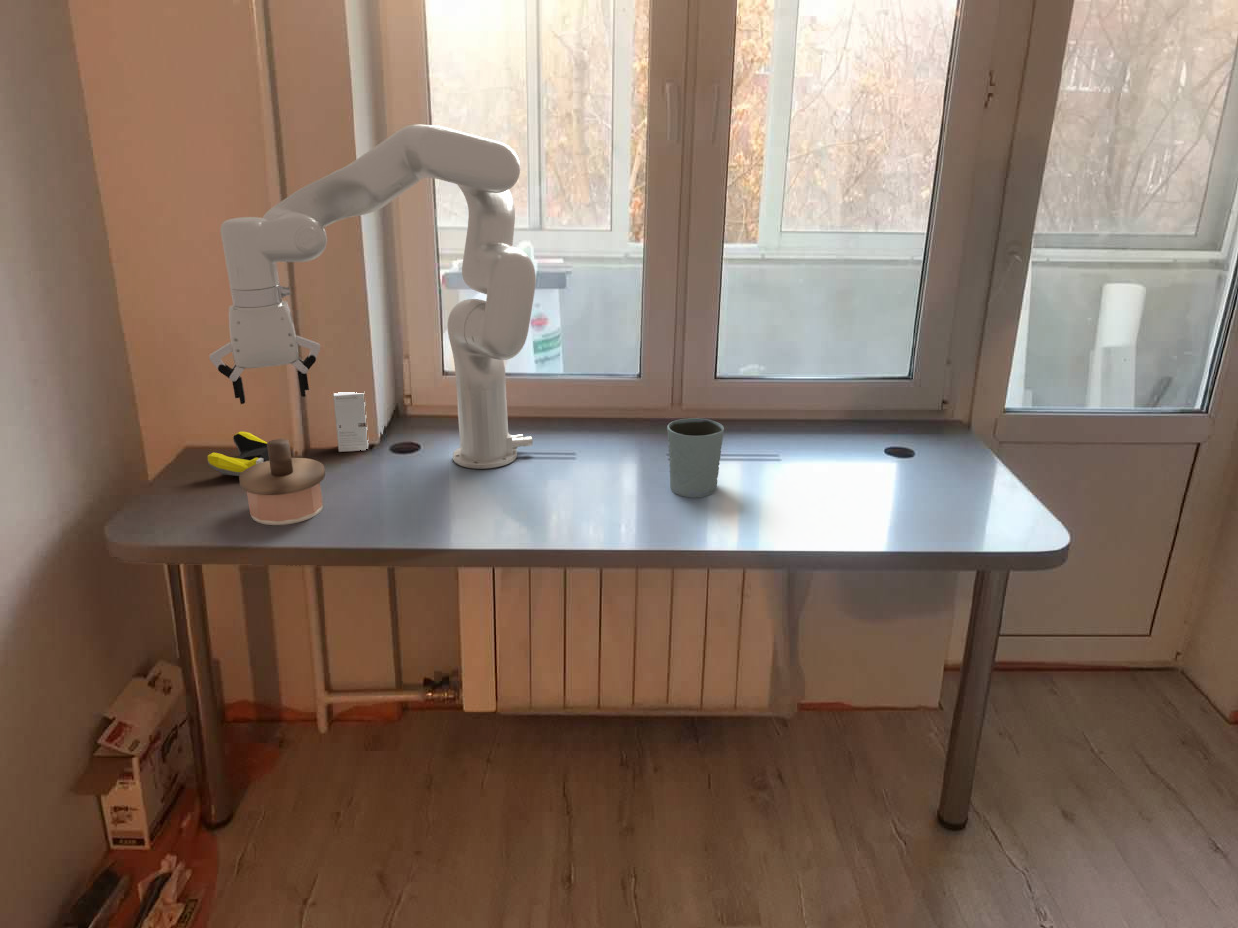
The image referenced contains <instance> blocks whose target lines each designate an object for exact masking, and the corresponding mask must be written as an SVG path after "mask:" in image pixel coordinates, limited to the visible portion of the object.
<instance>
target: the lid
mask: <svg viewBox="0 0 1238 928" xmlns="http://www.w3.org/2000/svg"><path fill="white" fill-rule="evenodd" d="M267 448H268V455H269V461H266V462H262V463H259V464H256V465H253V466H251V467H249V468H247V469H246V470H244V471H243V472H242V473H241V474H240V476H238V479H239V486H240V488H241V489H242V490H243V491H244V492H246V493H247V492H249V493H253V494H259V495H281V494H288V493H294V492H298V491H302V490H305V489H308V488H310V487H313V486H315V485H317V484H318V483H320V484H321V482H322V481H323V480H324V479H325V477H326V470H325V465H324V464H323V463H322V462H320V461H318V460H315V459H312V458H306V457H292V455H291V445H290V441H289V439H285V438H278V439H277V438H276V439H271V440H270V441H268V442H267Z"/></svg>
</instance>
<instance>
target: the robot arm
mask: <svg viewBox="0 0 1238 928" xmlns="http://www.w3.org/2000/svg"><path fill="white" fill-rule="evenodd" d="M520 163H521V162H520V160H519V156H518V155H517V153H516V151H515V150H514V149H513V148H511V146H509V145H507V144H505V143H504V142H501V141H497V140H493V139H489V138H485V137H481V136H479V135H474V134H469V133H466V132H462V131H458V130H455V129H453V128H449V127H445V126H441V125H436V124H435V125H433V124H421V123H420V124H419V123H418V124H417V123H416V124H410V125H407V126H404V127H402V128H401V129H399V130H398V131H396V132H394V133H393V134H391V135H390V136H388V137H387V138H385V139H383V140H382V141H381V142H380V143H379V144H377V145H376V146H374V147H373V148H371V149H369V150H368V151H367V152H366V153H364V154H362V155H361V156H359V157H358V158H356V159H355V160H354V161H352V162H351V163H348V164H346V166H344V167H342V168H340V169H337V170H335V171H332V172H331V173H330V174H326V175H325V176H323V177H322V178H321V177H320V178H319V179H317V180H315V181H313V182H311V183H309V184H307V185H305V186H303V187H301V188H299V189H298V190H296V191H295V192H293V193H292V194H290V195H288V196H287V197H286V198H284V199H283V200H281V201H280V202H279V203H277V204H275V205H274V206H272V207H271V208H269V210H267V212H265V214H264V215H263V216H262V217H258V216H245V217H244V216H242V217H241V216H240V217H235V218H230V219H227V220H224V221H223V222H222V223H221V225H220V236H221V241H222V247H223V252H224V253H223V254H224V259H225V266H226V271H227V277H228V284H229V289H230V295H231V300H232V305H229V306H228V327H229V336H230V337H229V338H230V341H229V342H228V343H226V344H224V345H223V346H221V347H220V348H218V349H217V350H215V351H213V352H212V353H210V354H209V361H210V362H211V363H212V364H213V365H214V366H215V368H216V369H217V370H218V372H219V373H220V374H222V375H224V377H227V378H228V379H229V380H230V381H231V383H232V387H233V393H234V398H235V399H239V402H240V405H244V404H245V403H246V396H245V391H244V390H245V389H244V384H243V378H242V376H241V375H242V373H243V372H244V370H245V369H246V370H247V369H258V368H259V369H260V368H266V367H267V368H268V367H269V368H270V367H275V366H283V365H284V366H287V365H292V366H293V367H294V368H295V369H296V370H297V371H296V373H297V376H298V383H299V390H300V396H301V397H302V398H305V397H307V396H306V391H310V387H309V380H308V372H309V370H310V369H311V367H312V366H313V365H314V364H315V363H316V361H317V357H318V355H319V354H320V351H321V348H322V347H321V344H320V343H319V342H316V341H314V340H311V339H309V338H305V337H302V336H300V335H297V334H296V329H295V324H294V320H293V315H292V311H291V309H290V306H289V303H288V301H287V300H283V299H285V298H284V297H287V296H291V288H290V286H286V287H285V286H283V285H282V284H281V285H280V279H279V278H280V277H279V271H278V264H277V263H281V262H282V263H285V262H287V263H292V262H293V263H294V262H295V263H303V262H305V263H306V262H310V261H313V260H315V259H317V258H318V257H320V256H321V255H322V254H323V253H324V251H325V250H326V247H327V244H328V235H327V232H326V229H325V228H326V227H327V226H330V225H331V224H334V223H336V222H340V221H341V220H344V219H349V218H353V217H358V216H359V217H360V216H365V215H368V214H371V213H374V212H376V211H379V210H381V209H382V208H384V207H385V206H387V205H388V204H390V203H392V201H394V200H395V199H397V198H398V197H399V196H401V195H403V193H405V192H406V191H408V190H409V189H410V188H412V187H414V186H415V185H416V184H417V183H419V182H420V181H422V180H423V179H425V178H428V179H436V180H439V181H444V182H447V183H451V184H455V185H457V187H458V188H459V189H460V190H461V192H462V194H463V196H464V198H465V201H466V204H467V209H468V221H467V230H466V237H465V238H466V239H465V244H464V251H463V259H462V264H461V265H462V266H461V274H462V275H461V276H462V279H463V281H464V283H465V284H466V286H468V288H470V289H472V290H473V291H476V292H478V293H481V294H484V295H486V299H485V300H483V299H478V298H467V299H464V300H462V301H460V302H457V303H456V304H455V305H454V306H453V308H452V309H451V310H450V313H449V316H448V318H447V319H448V320H447V335H448V340H449V344H450V348H451V351H452V358H453V364H454V373H455V386H456V387H455V388H456V402H457V417H458V418H457V419H458V431H459V434H458V435H459V446H460V447H458V448H456V449H455V450H454V451H453V454H452V460H453V461H454V463H455V464H456V465H459V466H461V467H463V468H468V469H475V470H476V469H477V470H481V469H482V470H488V469H495V468H499V467H504V466H506V465H509V464H510V463H512V462H515V460H516V459H517V457H518V451H517V449H518V448H519V447H532V446H533V438H532V435H530V436H524V435H523V434H522V433H521V434H514V435H512V434H510V432H509V426H508V425H509V423H508V405H507V404H508V403H507V401H508V400H507V387H506V386H507V385H506V383H507V382H506V381H507V379H506V378H507V377H506V367H505V362H504V361H508V360H511V359H513V358H514V357H516V356H517V355H518V354H519V353H520V352H521V350H522V349H523V348H524V346H525V344H526V342H527V338H528V334H529V329H530V322H531V316H532V311H533V305H534V298H535V292H536V291H535V290H536V284H537V280H536V279H537V278H536V277H537V276H536V271H535V270H536V269H535V266H534V264H533V263H534V262H533V261H532V259H531V258H530V256H529V255H528V254H527V253H526V252H525V251H523V250H521V249H520V248H517V247H514V246H513V244H514V235H515V234H514V233H515V223H516V211H515V210H516V209H515V204H514V203H515V202H514V200H513V197H512V194H511V191H510V189H512V188H513V187H514V186H515V185H516V184H517V182H518V180H519V178H520V175H521V164H520ZM299 346H300V347H303V348H306V349H309V353H308V355H307V356H306V357H305V359H304V360H303V359H301V357H299ZM230 353H232V358H233V362H234V365H233V367H232V368H231V367H230V366H229V365H227V364H226V363H224V362H223V360H222V359H223V357H225V356H228V355H229V354H230Z"/></svg>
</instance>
